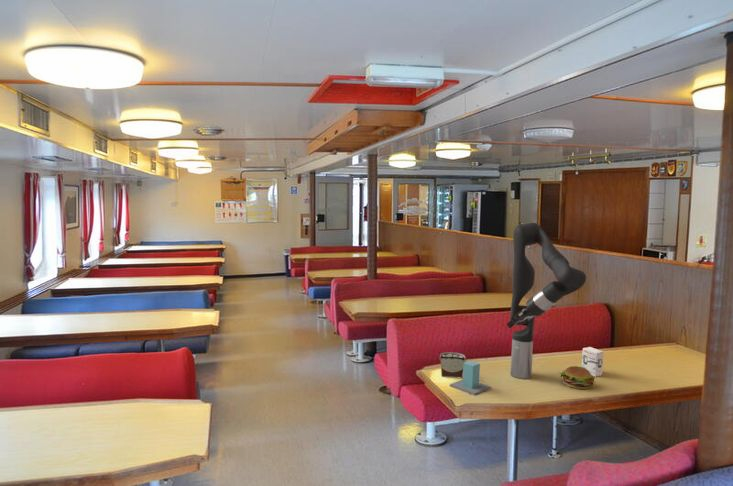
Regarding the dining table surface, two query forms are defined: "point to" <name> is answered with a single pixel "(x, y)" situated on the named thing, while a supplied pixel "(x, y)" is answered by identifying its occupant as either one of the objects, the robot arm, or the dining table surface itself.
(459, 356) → the food container
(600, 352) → the ink box
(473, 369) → the teal block
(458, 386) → the grey mat
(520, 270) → the robot arm
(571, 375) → the food
